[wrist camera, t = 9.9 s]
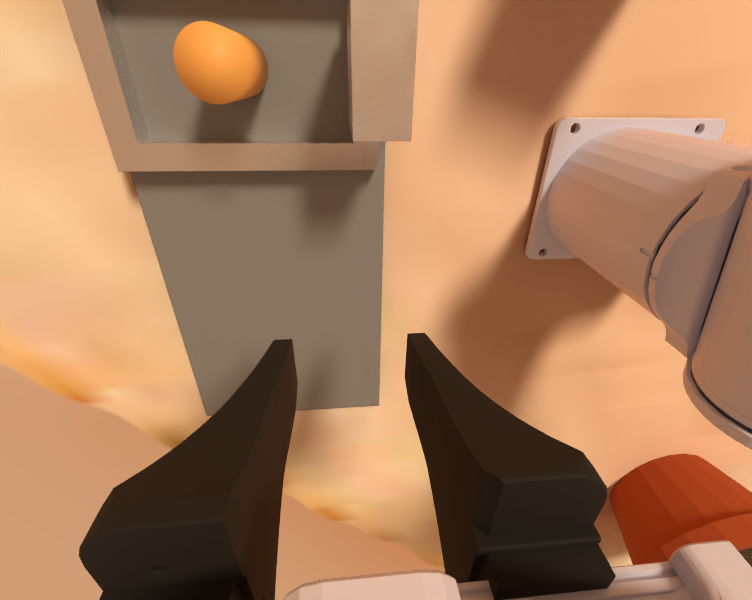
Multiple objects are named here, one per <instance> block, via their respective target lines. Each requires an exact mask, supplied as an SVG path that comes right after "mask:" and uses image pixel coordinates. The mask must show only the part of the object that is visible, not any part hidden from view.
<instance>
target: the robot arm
mask: <svg viewBox="0 0 752 600" xmlns="http://www.w3.org/2000/svg"><path fill="white" fill-rule="evenodd" d="M574 123H576V129H575V131H574V132H572V133H571V131H570V130H571V126H572V125H573V124H574ZM698 125H699V128H698V129H697V131H696V132H695V128H696V127H697V126H698ZM725 126H726V121H725V120H724V119H721V118H640V117H564V118H561V119H559V120H558V121H557V122H556V123H555V126H554V129H553V133H552V137H551V142H550V146H549V150H548V154H547V159H546V163H545V167H544V172H543V176H542V180H541V184H540V189H539V193H538V197H537V202H536V206H535V210H534V214H533V219H532V223H531V227H530V232H529V236H528V240H527V244H526V249H525V255H526V256H527V257H528V258H529V259H532V260H542V259H581V260H582V261H583V262H584V263H586V264H587V265H588V266H590V267H591V268H592V269H594V270H595V271H596V272H598V273H599V274H600V275H602V276H603V277H604V278H605V279H607V280H608V281H609V282H611V283H612V284H613V285H615V286H616V287H617V288H619V289H620V290H621V291H622V292H624V293H625V294H626V295H628V296H629V297H630V298H632V299H633V300H634V301H636V302H637V303H638V304H640V305H641V306H642V307H643V308H645V309H646V310H647V311H649V312H650V313H651V314H653V315H654V316H655V317H657V318H658V319H660V320H661V321H662V323H663V324H664V325H665V328H666V339H665V340H666V341H667V342H668V343H669V344H670V345H672V346H673V347H674V348H675V349H677V350H678V351H679V352H680V353H682V354H683V355H684V356H685V357H686V358H688V359H687V362H686V365H685V368H684V371H683V384H684V387H685V390H686V393H687V395H688V396H689V398H690V400H691V402H692V403H693V404H694V406H695V407H696V408H697V409H698V410H699V412H700V413H701V414H702V415H703V416H704V417H705V418H707V419H708V420H709V421H710V422H711V423H712V424H713V425H714V426H716V427H717V428H719V429H720V430H721V431H723V432H724V433H725V434H727V435H728V436H730V437H731V438H733V439H735V440H736V441H738V442H739V443H741V444H743V445H744V446H746V447H748V448H750V449H752V145H746V144H740V143H734V142H728V141H723V140H720V138H721V136H722V134H723V132H724V130H725ZM541 249H544V251H543V252H542V253H540V254H539V251H540V250H541ZM405 381H406V388H407V394H408V400H409V404H410V407H411V411H412V414H413V418H414V421H415V425H416V428H417V432H418V435H419V438H420V442H421V445H422V449H423V452H424V455H425V459H426V463H427V468H428V473H429V478H430V483H431V489H432V494H433V500H434V505H435V511H436V517H437V523H438V529H439V535H440V541H441V547H442V554H443V560H444V567H445V573H443V572H440V571H438V570H413V571H403V572H393V573H383V574H373V575H363V576H354V577H343V578H333V579H323V580H319V581H314V582H310V583H306V584H303V585H301V586H299V587H297V588H296V589H294V590H293V591H291V592H289V594H287V595H286V597H285V599H284V600H752V567H751V566H750V565H749V563H748V562H747V561H746V560H745V559H744V558H743V556H742V555H741V554H740V553H739V552H738V550H737V549H736V548H735V547H734V546H733V545H732V543H731V542H730V541H727V540H720V541H710V542H700V543H691V544H686V545H684V546H681V547H679V548H678V549H677V550H675V551H674V553H673V554H672V555H671V557H670V559H669V561H667V562H658V563H648V564H638V565H629V566H619V567H611V566H610V565H609V563H608V561H607V559H606V557H605V556H604V554H603V552H602V550H601V548H600V547H599V545H598V543H600V541H601V537H600V535H599V533H598V531H597V530H596V528H595V526H594V524H593V523H594V522H595V520H596V518H597V516H598V514H599V513H600V511H601V509H602V507H603V505H604V503H605V500H606V497H607V487H606V485H605V484H604V482H603V481H602V479H601V478H600V476H599V475H598V473H597V471H596V470H595V468H594V467H593V465H592V464H591V463H590V461H589V460H588V459H587V457H586V456H585V455H584V453H583V452H581V451H579V450H577V449H575V448H573V447H571V446H569V445H567V444H565V443H562V442H560V441H558V440H556V439H554V438H552V437H550V436H548V435H546V434H544V433H543V432H541V431H539V430H537V429H535V428H534V427H532V426H530V425H528V424H527V423H525V422H523V421H522V420H520V419H518V418H517V417H515V416H514V415H512V414H511V413H509V412H508V411H506V410H505V409H503V408H502V407H501V406H499V405H498V404H496V403H495V402H494V401H492V400H491V399H490V398H489V397H487V396H486V395H485V394H483V393H482V392H481V391H480V390H478V389H477V388H476V387H475V386H474V385H473V384H472V383H471V382H470V381H468V380H467V379H466V378H465V377H464V376H463V375H462V374H461V373H460V372H459V371H458V370H457V369H456V368H455V367H454V366H453V365H452V364H451V363H450V361H449V360H448V359H447V358H446V357H445V356H444V355H443V354H442V353H441V352H440V350H439V349H438V348H437V347H436V346H435V345H434V343H433V342H432V341H431V340H430V339H429V337H428V336H427V335H426V334H425V333H413V334H408V337H407V351H406V366H405ZM297 386H298V381H297V373H296V365H295V357H294V349H293V341H292V339H281V340H274V341H273V342H272V343H271V345H270V346H269V348H268V349H267V351H266V352H265V354H264V355H263V357H262V358H261V360H260V361H259V362H258V364H257V365H256V366H255V368H254V369H253V370H252V372H251V373H250V374H249V376H248V377H247V378H246V380H245V381H244V382H243V383H242V384H241V386H240V387H239V388H238V389H237V390H236V391H235V393H234V394H233V395H232V396H231V397H230V398H229V399H228V401H227V402H226V403H225V404H224V405H223V406H222V407H221V408H220V409H219V410H218V411H217V412H216V413H215V414H214V415H213V416H212V417H211V418H210V419H209V420H208V421H206V422H205V423H204V424H203V425H202V426H201V427H200V428H199V429H197V430H196V431H195V432H194V433H193V434H191V435H190V436H189V437H188V438H187V439H186V440H184V441H183V442H182V443H180V444H179V445H178V446H176V447H175V448H174V449H172V450H171V451H170V452H168V453H167V454H166V455H164V456H163V457H161V458H160V459H159V460H157V461H156V462H154V463H153V464H151V465H150V466H148V467H147V468H145V469H144V470H142V471H141V472H139V473H137V474H136V475H134V476H133V477H131V478H129V479H128V480H126V481H125V482H123V483H121V484H120V485H118V486H117V487H115V488H113V490H112V492H111V493H110V495H109V496H108V498H107V499H106V501H105V502H104V504H103V505H102V507H101V509H100V511H99V512H98V514H97V516H96V518H95V520H94V522H93V523H92V525H91V527H90V529H89V531H88V533H87V535H86V536H85V539H84V540H83V542H82V544H81V546H80V550H79V557H80V559H81V560H82V563H83V565H84V567H85V568H86V570H87V571H88V572H89V573H90V575H91V576H92V577H93V579H94V580H95V581H96V582H97V584H98V585H99V586H100V588H101V589H102V590H103V593H102V595H101V597H100V600H275V582H276V566H277V551H278V537H279V524H280V510H281V498H282V488H283V478H284V471H285V464H286V459H287V454H288V449H289V443H290V438H291V433H292V428H293V422H294V417H295V411H296V402H297Z"/></svg>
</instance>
